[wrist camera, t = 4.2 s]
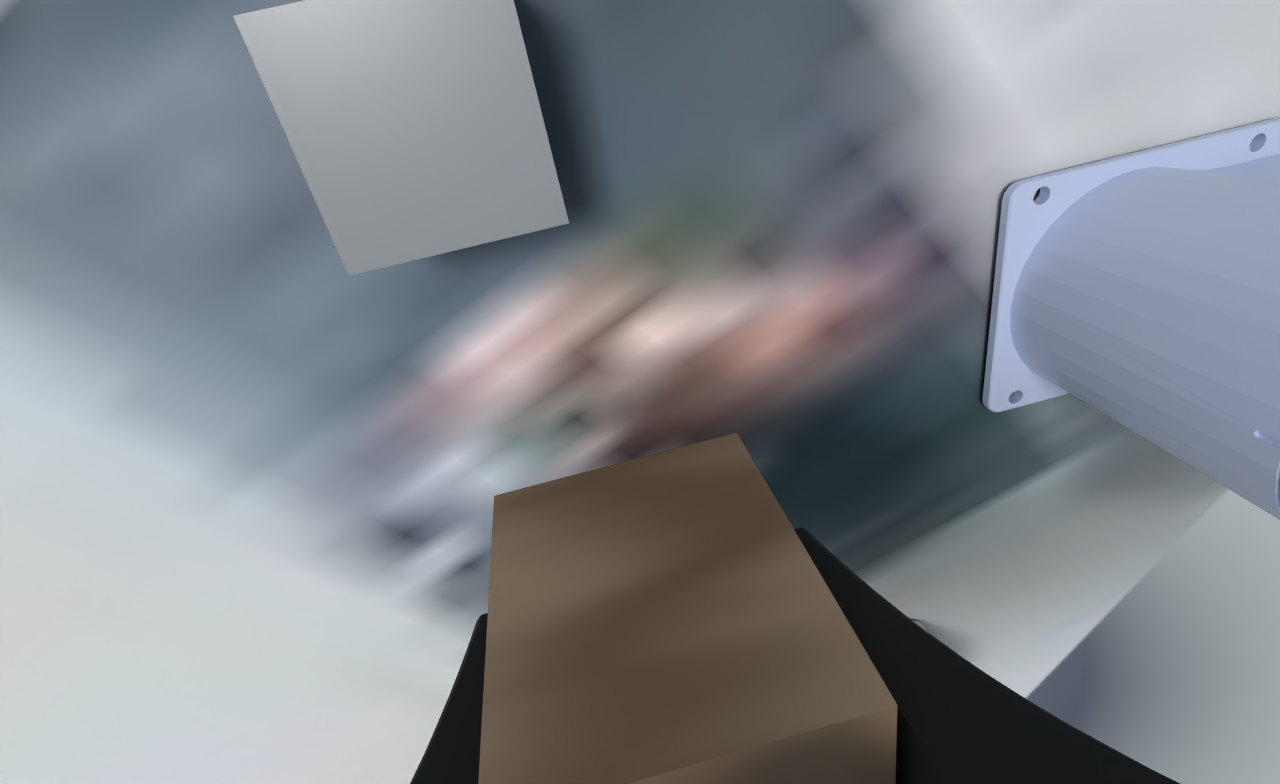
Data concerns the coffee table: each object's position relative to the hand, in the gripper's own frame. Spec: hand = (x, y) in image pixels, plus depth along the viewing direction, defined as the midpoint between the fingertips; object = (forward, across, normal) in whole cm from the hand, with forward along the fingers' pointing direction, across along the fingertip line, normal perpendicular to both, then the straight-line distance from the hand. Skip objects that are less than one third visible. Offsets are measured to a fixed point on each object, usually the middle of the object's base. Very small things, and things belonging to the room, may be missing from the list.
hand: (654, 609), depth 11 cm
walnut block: (+1, 0, 0) cm, 1 cm away
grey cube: (+10, +2, -8) cm, 13 cm away
